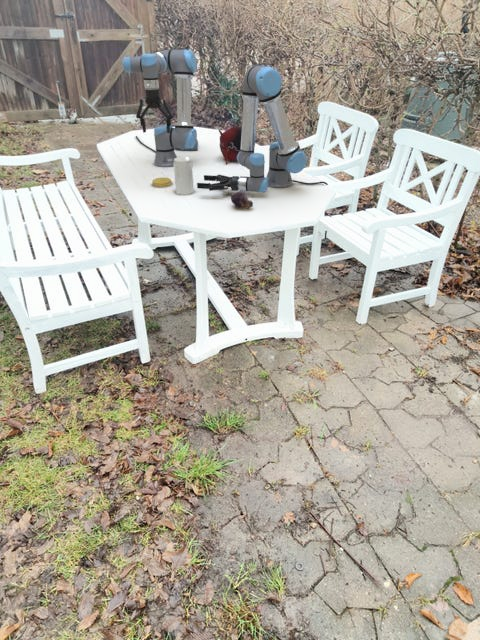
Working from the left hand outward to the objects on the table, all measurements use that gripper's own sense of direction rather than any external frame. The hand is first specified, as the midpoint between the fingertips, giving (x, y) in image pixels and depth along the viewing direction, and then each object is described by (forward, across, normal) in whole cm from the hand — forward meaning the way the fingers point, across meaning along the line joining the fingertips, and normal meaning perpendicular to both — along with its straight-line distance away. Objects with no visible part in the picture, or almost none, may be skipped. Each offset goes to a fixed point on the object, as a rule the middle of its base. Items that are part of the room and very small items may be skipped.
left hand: (156, 132), depth 243 cm
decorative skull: (+28, +34, +58) cm, 73 cm away
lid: (+26, 0, 0) cm, 26 cm away
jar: (+28, +16, -11) cm, 34 cm away
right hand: (+22, +26, -11) cm, 36 cm away
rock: (+28, +51, -31) cm, 66 cm away
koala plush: (+28, -7, +82) cm, 87 cm away
